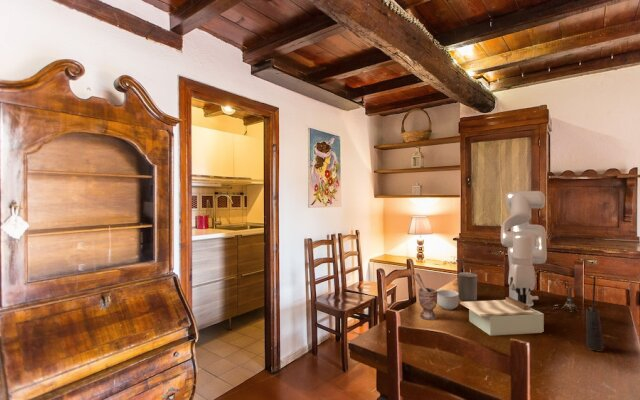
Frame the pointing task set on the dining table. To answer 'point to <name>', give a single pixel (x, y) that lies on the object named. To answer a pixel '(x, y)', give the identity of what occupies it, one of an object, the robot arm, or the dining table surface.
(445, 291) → the teacup
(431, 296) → the mortar and pestle
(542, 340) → the dining table surface
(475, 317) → the box
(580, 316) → the dining table surface
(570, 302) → the eiffel tower figurine
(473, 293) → the pillar candle
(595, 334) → the butter churn
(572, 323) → the dining table surface
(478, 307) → the lid
